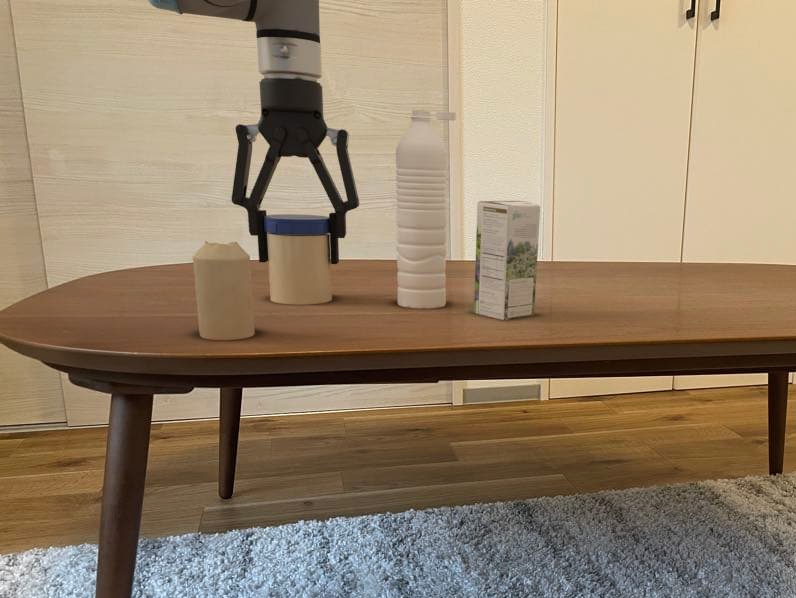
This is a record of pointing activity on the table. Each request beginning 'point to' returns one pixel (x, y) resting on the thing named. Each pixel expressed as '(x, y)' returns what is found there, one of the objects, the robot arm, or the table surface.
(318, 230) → the lid
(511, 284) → the syrup box
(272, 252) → the jar
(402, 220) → the water bottle
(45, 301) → the table surface
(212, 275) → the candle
